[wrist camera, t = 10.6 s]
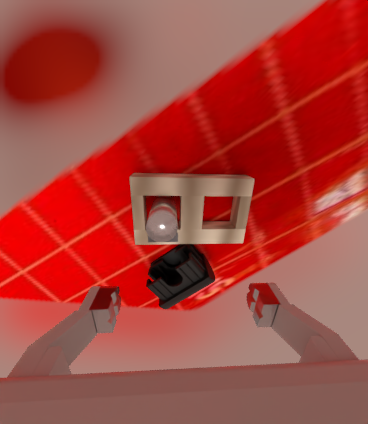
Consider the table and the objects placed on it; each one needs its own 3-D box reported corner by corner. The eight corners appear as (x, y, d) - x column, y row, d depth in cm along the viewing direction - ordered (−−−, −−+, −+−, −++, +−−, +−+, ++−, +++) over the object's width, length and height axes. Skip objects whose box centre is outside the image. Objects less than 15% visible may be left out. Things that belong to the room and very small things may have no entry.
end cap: (170, 286, 37) (170, 316, 31) (147, 264, 34) (142, 292, 28) (210, 261, 35) (219, 288, 29) (190, 237, 33) (195, 260, 26)
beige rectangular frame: (246, 175, 29) (255, 179, 26) (236, 234, 33) (243, 243, 30) (133, 172, 27) (129, 177, 24) (138, 235, 32) (135, 245, 29)
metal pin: (176, 195, 29) (177, 213, 22) (176, 217, 31) (177, 241, 23) (151, 194, 29) (144, 213, 22) (152, 217, 30) (146, 242, 23)
